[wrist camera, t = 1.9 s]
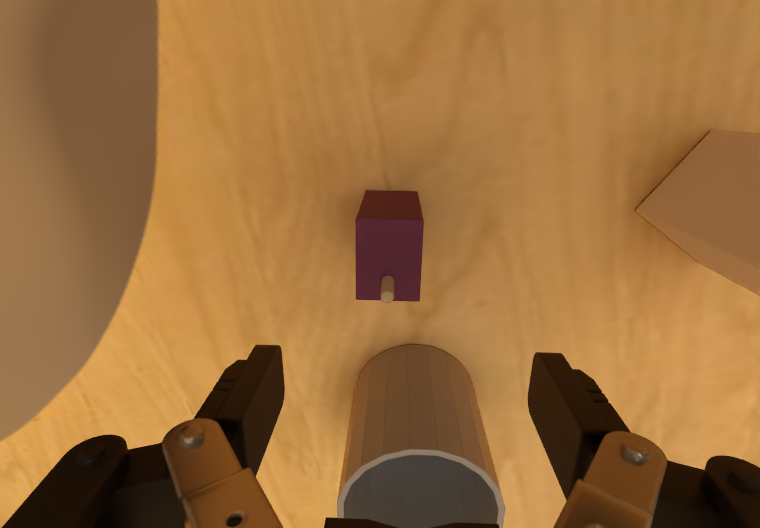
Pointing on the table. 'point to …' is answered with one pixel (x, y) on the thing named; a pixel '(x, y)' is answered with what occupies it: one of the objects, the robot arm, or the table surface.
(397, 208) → the juice box
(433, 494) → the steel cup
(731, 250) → the milk
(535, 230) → the table surface
